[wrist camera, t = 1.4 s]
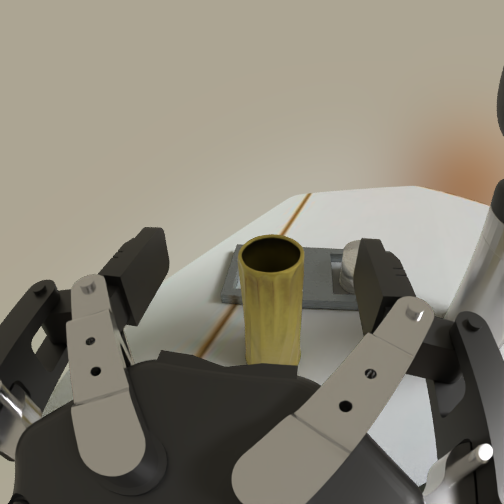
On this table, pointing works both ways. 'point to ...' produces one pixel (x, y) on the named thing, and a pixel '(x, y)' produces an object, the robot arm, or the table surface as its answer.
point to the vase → (272, 298)
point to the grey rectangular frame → (311, 278)
